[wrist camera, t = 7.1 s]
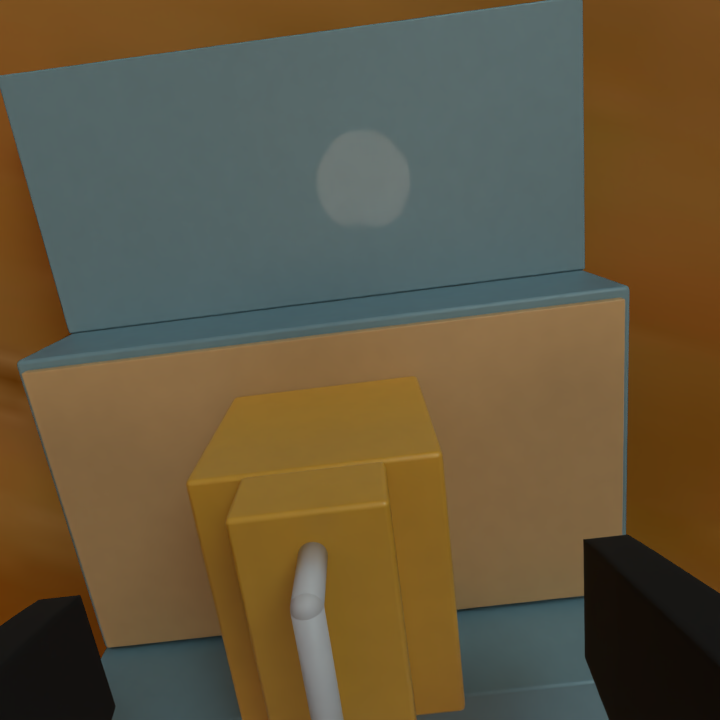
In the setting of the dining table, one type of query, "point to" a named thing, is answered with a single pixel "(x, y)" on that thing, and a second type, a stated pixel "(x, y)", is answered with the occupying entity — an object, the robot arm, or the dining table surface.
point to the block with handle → (331, 554)
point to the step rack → (331, 319)
